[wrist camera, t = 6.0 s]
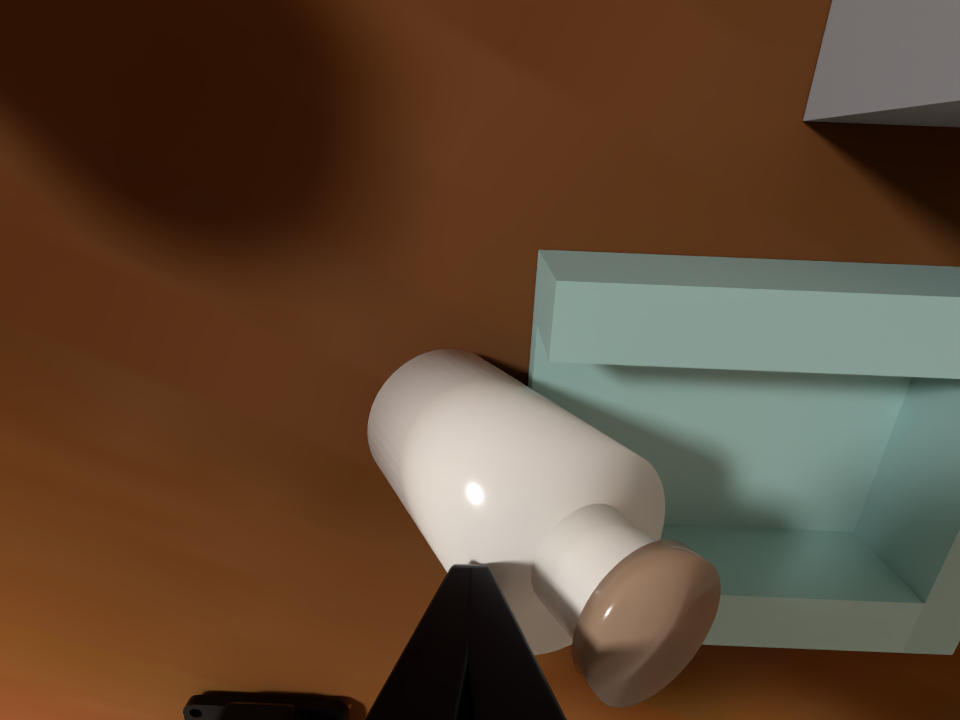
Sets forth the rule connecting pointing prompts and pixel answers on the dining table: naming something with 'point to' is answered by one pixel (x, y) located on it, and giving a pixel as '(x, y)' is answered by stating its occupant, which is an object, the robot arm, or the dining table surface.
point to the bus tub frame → (889, 64)
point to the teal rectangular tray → (779, 430)
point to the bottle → (546, 520)
